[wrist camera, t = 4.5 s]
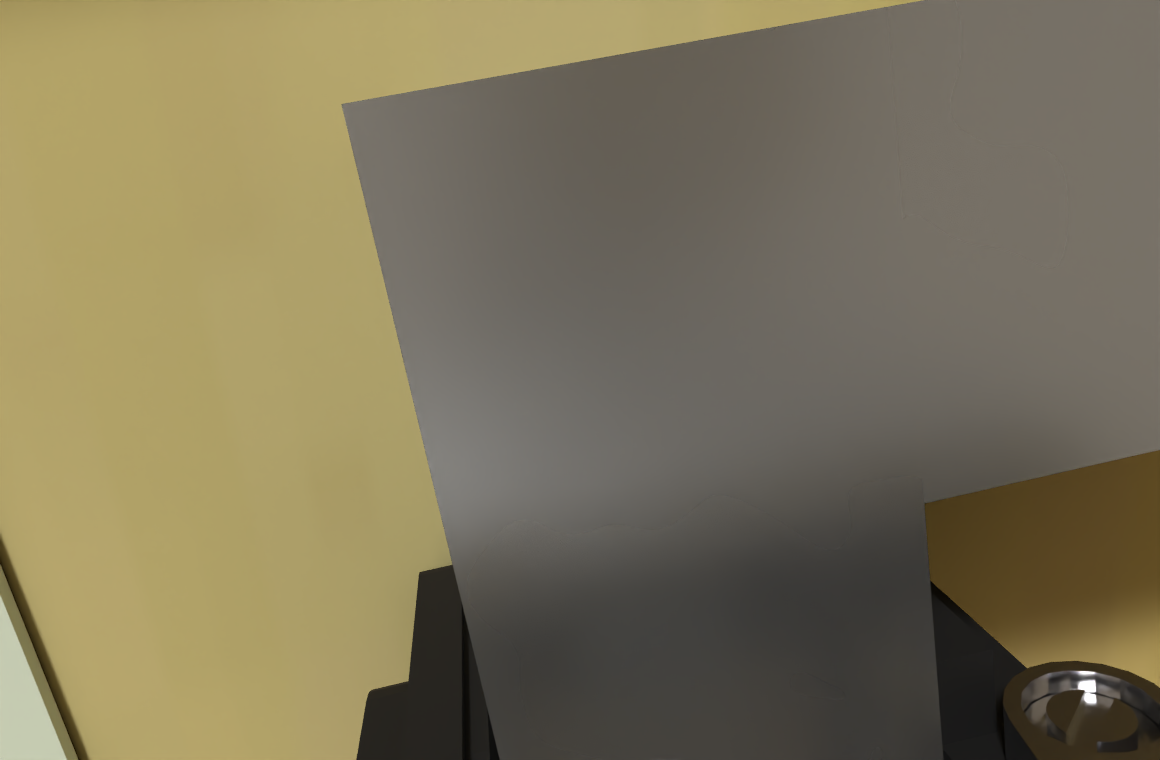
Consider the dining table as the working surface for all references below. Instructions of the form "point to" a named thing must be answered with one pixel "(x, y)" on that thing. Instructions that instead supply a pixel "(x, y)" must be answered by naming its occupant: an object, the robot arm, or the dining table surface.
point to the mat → (26, 694)
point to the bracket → (762, 352)
